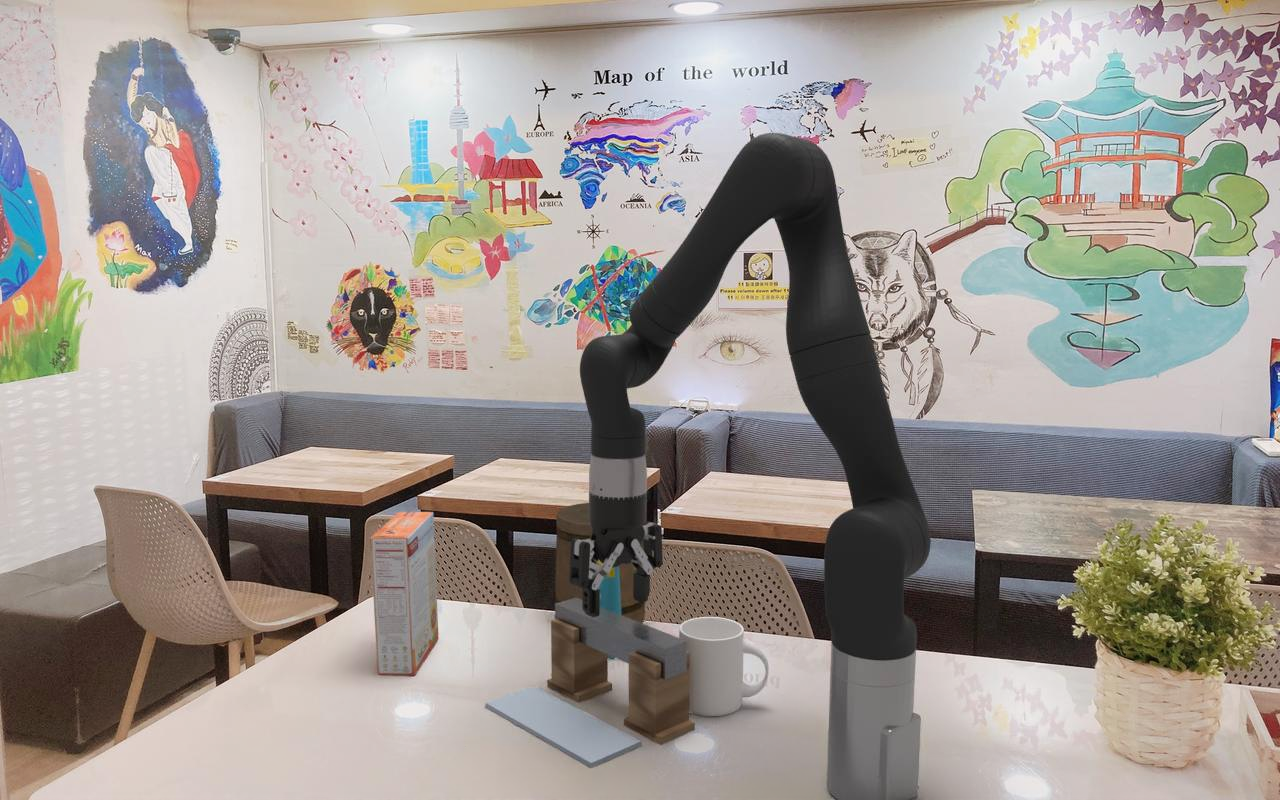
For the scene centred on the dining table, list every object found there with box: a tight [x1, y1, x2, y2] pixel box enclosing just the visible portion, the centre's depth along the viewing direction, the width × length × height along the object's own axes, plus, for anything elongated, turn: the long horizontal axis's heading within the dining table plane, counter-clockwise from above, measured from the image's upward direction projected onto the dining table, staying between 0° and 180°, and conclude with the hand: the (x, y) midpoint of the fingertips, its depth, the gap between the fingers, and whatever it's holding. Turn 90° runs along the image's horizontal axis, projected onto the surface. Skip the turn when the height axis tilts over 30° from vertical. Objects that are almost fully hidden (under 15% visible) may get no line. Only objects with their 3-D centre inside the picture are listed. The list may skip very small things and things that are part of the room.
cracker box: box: [369, 511, 439, 676], centre depth 151 cm, size 14×6×21 cm, turn 176°
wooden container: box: [555, 502, 646, 624], centre depth 167 cm, size 15×15×22 cm
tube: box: [594, 560, 622, 660], centre depth 153 cm, size 7×5×19 cm, turn 28°
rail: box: [554, 598, 687, 680], centre depth 135 cm, size 22×4×4 cm, turn 43°
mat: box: [485, 685, 642, 768], centre depth 131 cm, size 22×8×1 cm, turn 43°
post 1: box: [546, 618, 613, 704], centre depth 141 cm, size 7×6×10 cm
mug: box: [678, 616, 770, 717], centre depth 136 cm, size 9×12×11 cm
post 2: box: [622, 652, 696, 746], centre depth 129 cm, size 7×6×10 cm
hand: (616, 607), depth 134 cm, fingers open, 8 cm apart
